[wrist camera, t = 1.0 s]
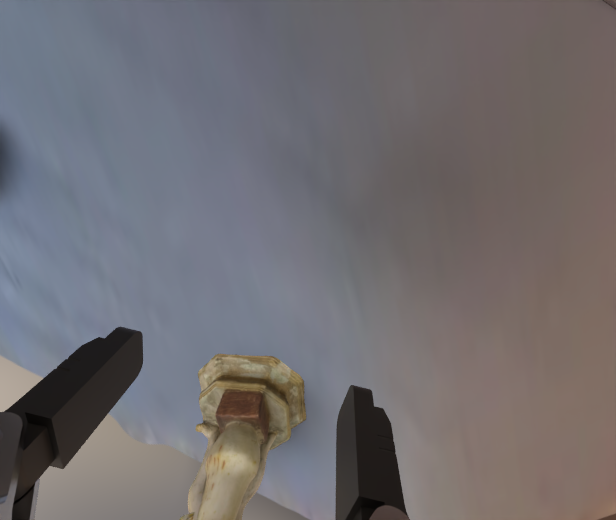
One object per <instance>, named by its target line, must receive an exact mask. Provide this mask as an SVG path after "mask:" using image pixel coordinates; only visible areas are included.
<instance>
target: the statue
mask: <svg viewBox="0 0 616 520" xmlns="http://www.w3.org/2000/svg"><path fill="white" fill-rule="evenodd" d="M198 377H199V381H200V385H201V390H202V392H201V393H200V397H199V404H200V409H201V412H202V415H203V423H202V424H198V425H196V431H197V432H202V433H204V435H205V436H206V437H207V438H208V447H207V450H206V453H205V456H204V459H203V462H202V464H201V467H200V469H199V472H198V474H197V476H196V478H195V480H194V482H193V483H192V485H191V487H190V490H189V496H188V509H189V514H187V515H184V516H182V517H181V518H180V520H242V514H243V510H244V508H245V506H246V504H247V503H248V501H249V500H250V499H251V498H252V496H253V495H254V494H255V493H256V491H257V490H258V488H259V486H260V484H261V481H262V478H263V475H264V471H265V465H266V459H267V454H268V451H269V450H272V449H274V448H275V447H277V446H279V445H280V444H282V443H284V442H285V441H287V440H289V438H290V436H291V429H292V428H293V427H295V426H297V425H298V424H300V423H302V422H303V421H304V420H306V413H305V412H306V411H305V402H304V381H303V379H302V378H301V377H300V375H299V374H297V373H296V372H294V371H293V370H291V369H290V368H288V367H287V366H286V365H285V364H283V363H282V362H281V361H280V360H279V359H277V358H275V357H272V356H243V355H242V356H240V355H226V354H217V355H215V356H214V357H213V358H212V359H211V360H210V361H209V362H208V363H207V364H206V365H205V366H204V367H203V368H202V369H201V370H199V373H198Z"/></svg>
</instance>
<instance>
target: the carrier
mask: <svg viewBox="0 0 616 520" xmlns="http://www.w3.org/2000/svg"><path fill="white" fill-rule="evenodd" d="M603 1H605V2H606V3H608V4H609V5H611V6H612V7H614V8H615V9H616V0H603Z"/></svg>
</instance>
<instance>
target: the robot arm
mask: <svg viewBox="0 0 616 520" xmlns="http://www.w3.org/2000/svg"><path fill="white" fill-rule="evenodd" d="M142 364H143V339H142V333H141V332H140V331H136V330H132V329H128V328H124V327H118V328H116V329H115V330H114V331H113V332H111V333H110V334H109V335H108V336H107V337H106V338H105V339H104V338H100V337H98V338H96V339H94V340H92V341H90V342H88V343H86V344H84V345H82V346H81V347H80V348H79V349H77V350H76V351H75V352H74V353H73V354H72V355H70V356H69V358H68V359H66V360H65V361H63V362H62V363H61V364H60V365H59V366H58V367H57V369H54V370H53V371H52V372H51V373H49V374H48V375H47V376H46V377H45V378H44V379H43V380H41V381H40V382H39V383H38V384H37V385H36V386H34V387H33V388H32V389H31V390H30V391H29V392H27V393H26V394H25V395H24V396H23V397H22V398H20V399H19V400H18V401H17V402H16V403H15V404H13V405H12V406H11V407H10V408H9V409H7V410H6V411H4V412H0V520H34V518H35V511H36V504H37V497H38V489H39V480H40V479H39V478H40V476H41V475H42V474H43V473H44V471H45V470H46V469H47V468H48V467H49V466H53V467H57V468H61V469H64V468H65V466H66V465H67V464H68V463H69V461H70V460H71V459H72V458H73V456H74V455H75V454H76V453H77V451H78V450H79V449H80V448H81V446H82V445H83V444H84V443H85V441H86V440H87V439H88V438H89V436H90V435H91V434H92V433H93V431H94V430H95V429H96V428H97V426H98V425H99V424H100V422H101V421H102V420H103V419H104V418H105V416H106V415H107V414H108V413H109V411H110V410H111V409H112V408H113V406H114V405H115V404H116V403H117V401H118V400H119V399H120V398H121V396H122V395H123V394H124V393H125V391H126V390H127V389H128V388H129V386H130V385H131V384H132V383H133V381H134V380H135V379H136V378H137V376H138V374H139V372H140V370H141V368H142ZM336 520H410V519H409V517H408V515H407V512H406V509H405V505H404V499H403V493H402V487H401V481H400V475H399V469H398V463H397V457H396V455H395V445H394V442H393V433H392V428H391V423H390V421H389V419H388V417H387V415H386V413H385V411H384V410H383V409H382V408H378V407H374V403H373V395H372V391H371V390H370V389H366V388H362V387H358V386H354V385H351V386H350V387H349V390H348V392H347V395H346V397H345V399H344V402H343V404H342V407H341V409H340V412H339V415H338V421H337V442H336Z"/></svg>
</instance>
